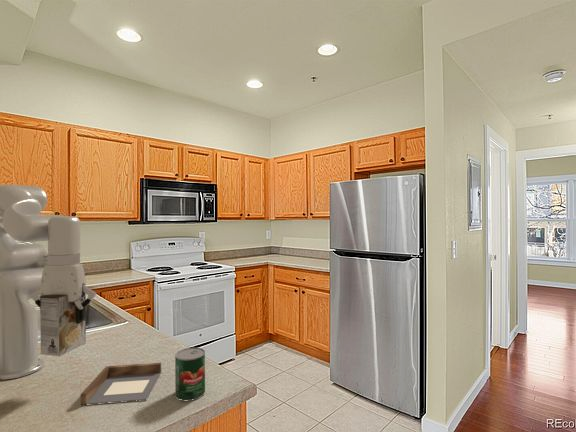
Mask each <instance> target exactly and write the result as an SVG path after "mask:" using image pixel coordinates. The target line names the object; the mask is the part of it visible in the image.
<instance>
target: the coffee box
mask: <svg viewBox="0 0 576 432" xmlns="http://www.w3.org/2000/svg"><path fill="white" fill-rule="evenodd" d="M82 293H83V291H82ZM86 295H87V294H86ZM86 295H85V297H83V298H84V300H86V299H87V298H86ZM82 296H83V295H82ZM77 309H78V307H77V306H76V304H75V303H74V302H68V295H42V296H40V307H39V311H40V312H39V313H40V315H39V316H40V319H39V320H40V321H39V322H40V323H39V324H40V330H39V331H40V354H41V355H44V356H45V355H46V356H54V357H61V356H63V355H65V354H67V353H69V352H71V351H73V350H75V349H78V348H79V347H81V346H83V345H85V344H86V343H87V337H86V336H87V333H86V332H87V331H86V330H87V328H86V327H87V325H86V324H87V321H86V319H87V314H86V313H87V311H86V310H87V306H86V307H85V319H84V321H82V322H81V323H79V324H77V323H76V310H77Z"/></svg>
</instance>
